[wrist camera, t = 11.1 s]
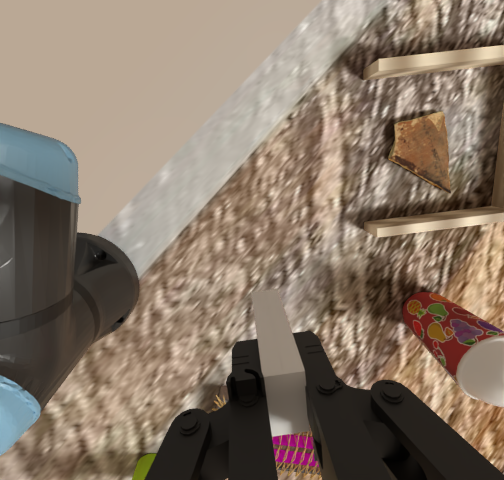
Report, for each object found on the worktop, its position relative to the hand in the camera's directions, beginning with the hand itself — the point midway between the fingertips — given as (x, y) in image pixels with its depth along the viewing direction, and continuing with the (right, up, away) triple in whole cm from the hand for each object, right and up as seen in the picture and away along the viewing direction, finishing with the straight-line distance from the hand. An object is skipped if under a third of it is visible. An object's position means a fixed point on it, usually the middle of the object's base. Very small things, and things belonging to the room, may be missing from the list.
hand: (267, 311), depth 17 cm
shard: (+23, +17, +23) cm, 36 cm away
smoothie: (+25, -6, +29) cm, 39 cm away
